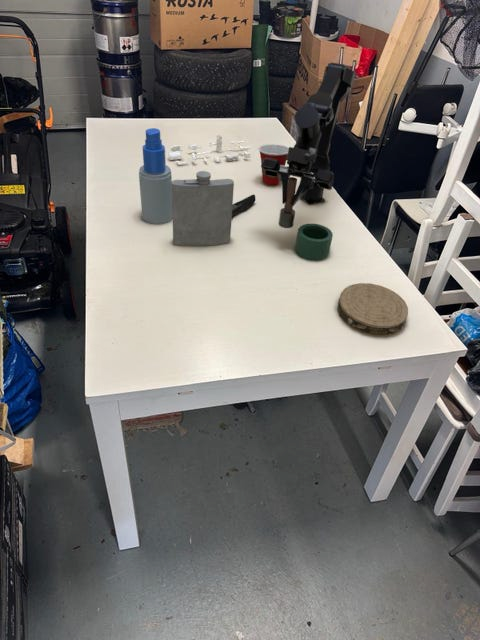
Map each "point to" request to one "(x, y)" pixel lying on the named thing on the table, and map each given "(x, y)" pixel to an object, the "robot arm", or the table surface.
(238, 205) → the electric trimmer
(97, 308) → the table surface
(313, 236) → the round container
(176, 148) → the miniature set
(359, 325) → the wood slice coaster
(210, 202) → the hip flask
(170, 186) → the spray bottle
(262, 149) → the plastic cup
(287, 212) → the brown cylinder with base
